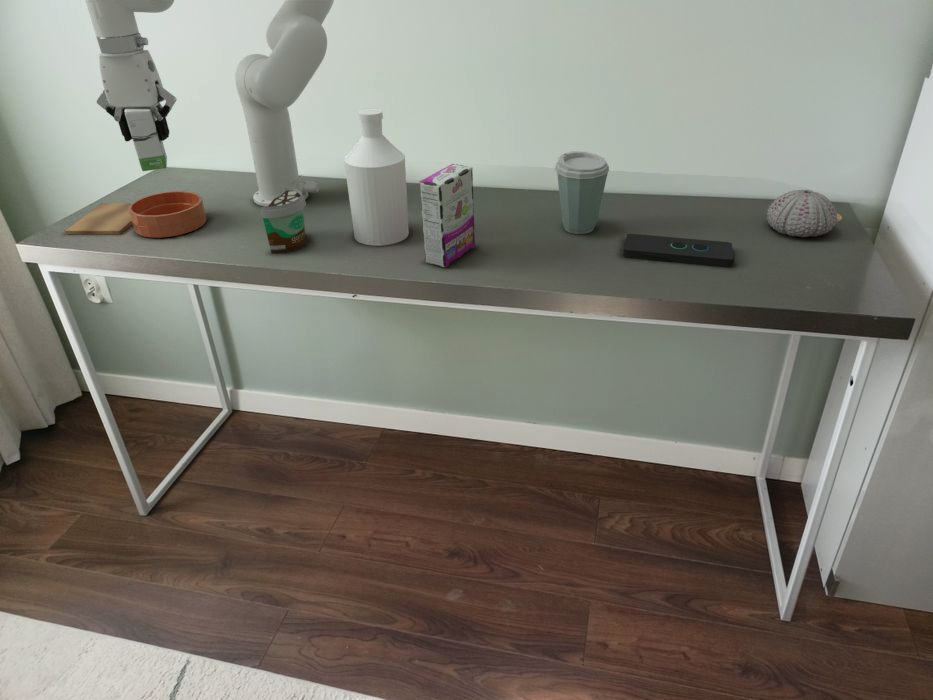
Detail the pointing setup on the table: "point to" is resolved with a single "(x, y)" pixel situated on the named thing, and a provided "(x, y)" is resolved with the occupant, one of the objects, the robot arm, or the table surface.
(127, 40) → the robot arm
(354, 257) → the table surface
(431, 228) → the candy bar box
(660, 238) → the smart home device
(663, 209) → the table surface
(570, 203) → the disposable coffee cup
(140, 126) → the ink box
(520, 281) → the table surface
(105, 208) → the wooden board
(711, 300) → the table surface
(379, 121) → the bottle
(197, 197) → the bowl
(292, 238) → the food container
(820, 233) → the sea urchin shell
